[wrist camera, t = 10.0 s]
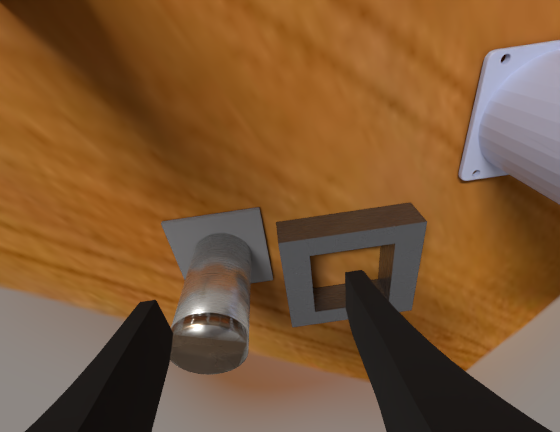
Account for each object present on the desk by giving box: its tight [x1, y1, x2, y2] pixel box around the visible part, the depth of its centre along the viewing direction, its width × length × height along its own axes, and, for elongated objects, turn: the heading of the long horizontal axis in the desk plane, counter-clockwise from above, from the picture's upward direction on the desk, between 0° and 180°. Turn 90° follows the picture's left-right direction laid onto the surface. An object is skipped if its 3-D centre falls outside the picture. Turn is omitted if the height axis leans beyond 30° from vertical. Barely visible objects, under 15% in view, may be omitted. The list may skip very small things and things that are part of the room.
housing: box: [276, 203, 427, 327], centre depth 24 cm, size 10×9×2 cm
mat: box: [161, 207, 273, 283], centre depth 23 cm, size 7×7×1 cm
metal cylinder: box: [170, 233, 251, 374], centre depth 20 cm, size 4×4×8 cm
